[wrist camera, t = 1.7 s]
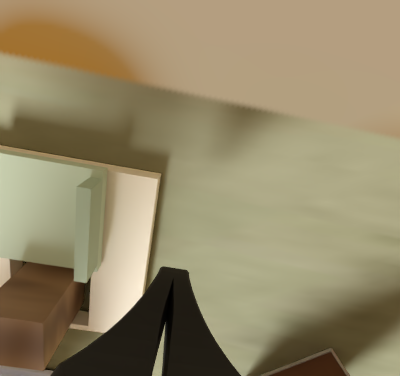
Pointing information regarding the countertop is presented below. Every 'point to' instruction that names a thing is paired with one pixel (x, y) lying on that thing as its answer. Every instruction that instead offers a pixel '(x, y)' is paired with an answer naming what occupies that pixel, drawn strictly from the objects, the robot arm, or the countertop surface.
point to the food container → (313, 366)
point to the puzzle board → (114, 244)
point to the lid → (52, 212)
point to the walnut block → (37, 313)
